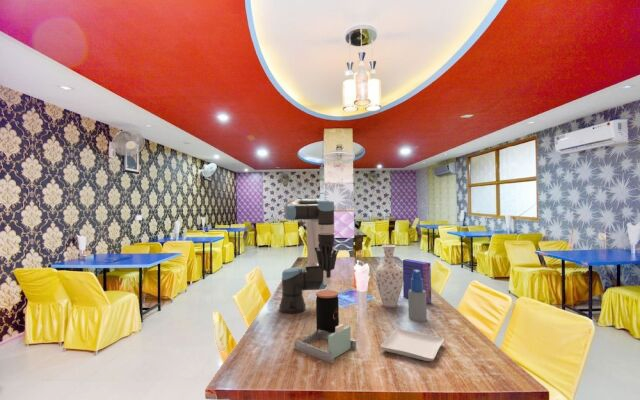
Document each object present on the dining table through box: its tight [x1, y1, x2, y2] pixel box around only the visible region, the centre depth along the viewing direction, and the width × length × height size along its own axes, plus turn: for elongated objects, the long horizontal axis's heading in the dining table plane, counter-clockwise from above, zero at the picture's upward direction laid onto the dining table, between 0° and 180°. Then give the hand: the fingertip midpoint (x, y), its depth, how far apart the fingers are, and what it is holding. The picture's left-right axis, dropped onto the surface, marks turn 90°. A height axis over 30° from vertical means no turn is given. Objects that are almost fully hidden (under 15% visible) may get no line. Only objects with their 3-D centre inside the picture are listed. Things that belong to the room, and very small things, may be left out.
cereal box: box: [402, 259, 432, 305], centre depth 199 cm, size 17×5×24 cm, turn 34°
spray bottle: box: [407, 270, 428, 323], centre depth 166 cm, size 9×9×25 cm
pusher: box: [327, 323, 351, 359], centre depth 127 cm, size 1×13×11 cm, turn 139°
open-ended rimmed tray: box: [294, 329, 357, 365], centre depth 132 cm, size 20×16×4 cm
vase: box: [375, 244, 403, 308], centre depth 189 cm, size 16×16×35 cm
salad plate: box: [379, 328, 445, 362], centre depth 132 cm, size 21×21×3 cm
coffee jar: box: [315, 289, 340, 333], centre depth 151 cm, size 11×11×18 cm
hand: (326, 284), depth 148 cm, fingers closed
